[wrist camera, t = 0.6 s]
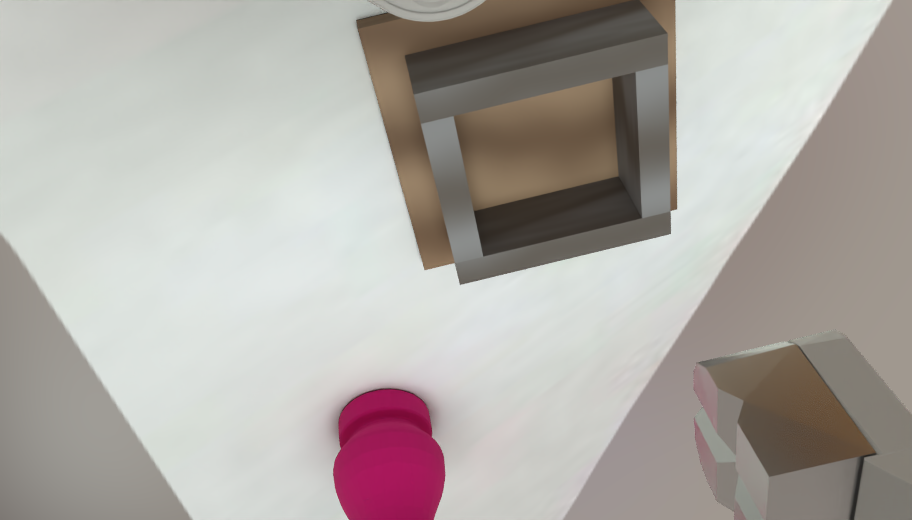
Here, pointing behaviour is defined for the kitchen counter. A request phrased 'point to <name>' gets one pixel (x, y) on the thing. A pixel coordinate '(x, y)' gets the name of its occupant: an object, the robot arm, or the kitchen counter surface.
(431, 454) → the pepper mill
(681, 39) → the kitchen counter surface
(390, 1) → the beverage can
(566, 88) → the collar plate
